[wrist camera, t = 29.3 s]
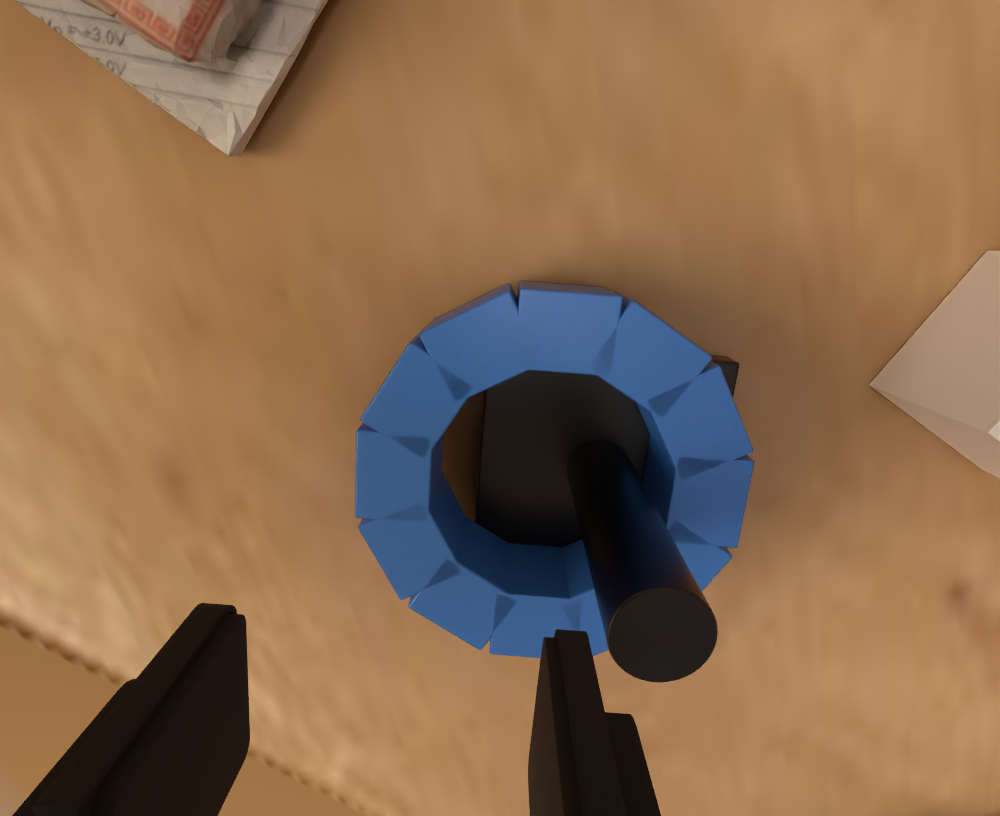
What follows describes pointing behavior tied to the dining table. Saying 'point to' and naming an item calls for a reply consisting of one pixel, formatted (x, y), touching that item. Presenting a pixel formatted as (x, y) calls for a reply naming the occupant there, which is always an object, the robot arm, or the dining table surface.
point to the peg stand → (595, 510)
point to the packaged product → (192, 54)
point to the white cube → (955, 368)
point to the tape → (532, 568)
